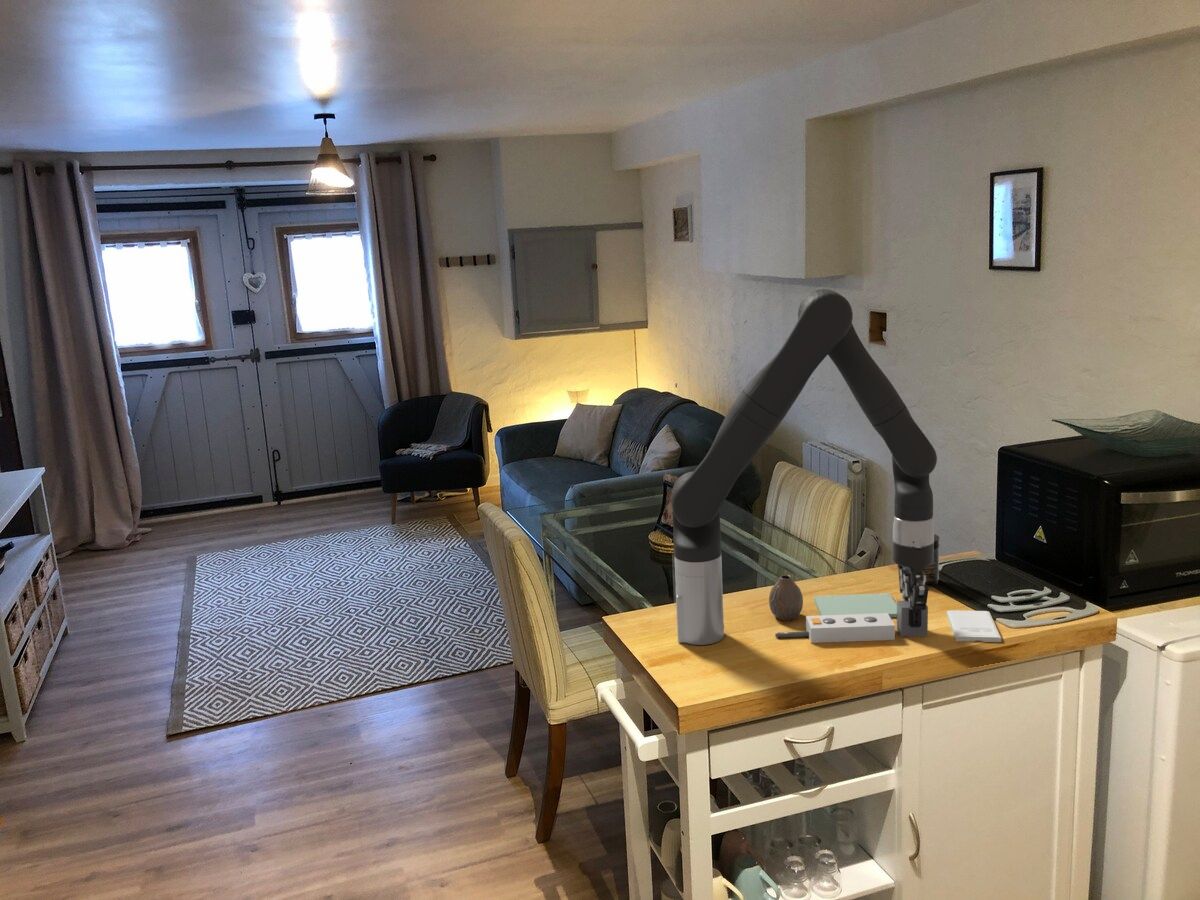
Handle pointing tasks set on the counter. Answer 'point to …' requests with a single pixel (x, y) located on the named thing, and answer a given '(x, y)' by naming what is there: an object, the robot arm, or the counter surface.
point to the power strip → (846, 628)
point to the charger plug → (904, 621)
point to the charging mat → (856, 604)
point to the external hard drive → (973, 626)
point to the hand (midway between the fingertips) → (912, 621)
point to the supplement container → (933, 566)
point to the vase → (785, 599)
